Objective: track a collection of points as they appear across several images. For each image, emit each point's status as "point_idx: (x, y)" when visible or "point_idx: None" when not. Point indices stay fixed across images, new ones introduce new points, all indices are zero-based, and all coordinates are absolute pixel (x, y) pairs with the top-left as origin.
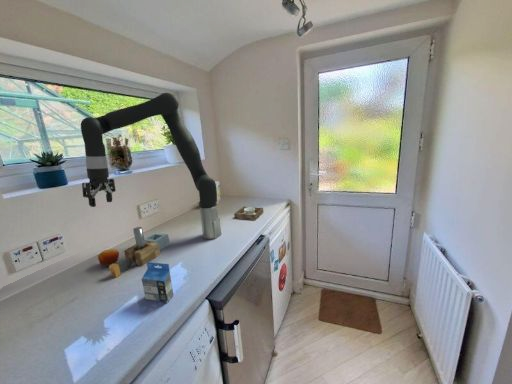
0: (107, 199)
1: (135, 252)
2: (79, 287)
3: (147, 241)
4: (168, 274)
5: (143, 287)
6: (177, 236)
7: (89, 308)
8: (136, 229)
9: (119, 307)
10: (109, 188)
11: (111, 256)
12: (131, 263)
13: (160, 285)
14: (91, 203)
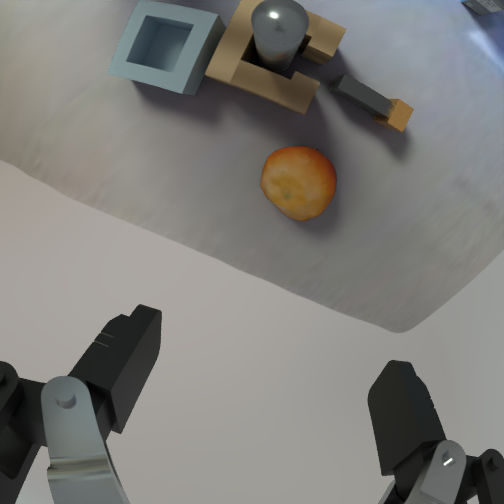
0: (148, 365)
1: (334, 52)
2: (418, 199)
3: (199, 55)
4: None
5: (499, 10)
6: (94, 20)
7: (493, 129)
8: (298, 21)
9: (496, 65)
10: (79, 497)
11: (325, 158)
12: (339, 76)
13: None
14: (429, 400)
